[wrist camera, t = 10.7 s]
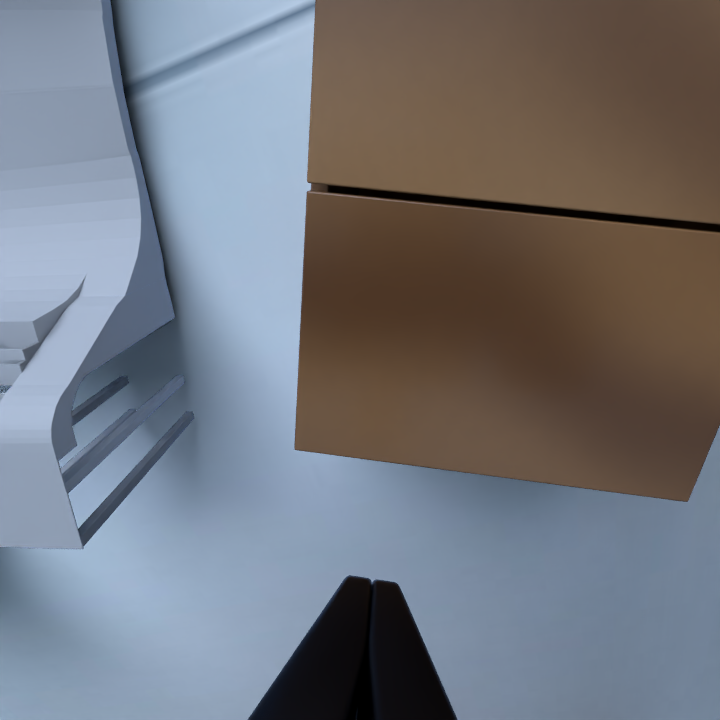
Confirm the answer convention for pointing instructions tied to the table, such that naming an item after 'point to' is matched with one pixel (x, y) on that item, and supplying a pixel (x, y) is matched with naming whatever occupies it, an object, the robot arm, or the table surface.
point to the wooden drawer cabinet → (522, 106)
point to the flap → (509, 343)
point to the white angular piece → (68, 264)
